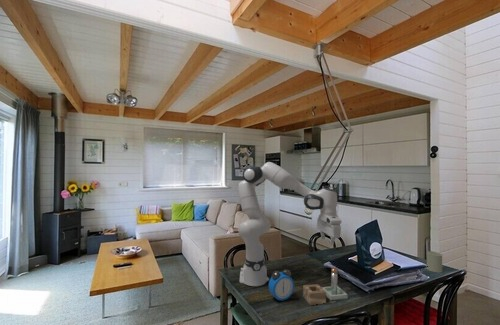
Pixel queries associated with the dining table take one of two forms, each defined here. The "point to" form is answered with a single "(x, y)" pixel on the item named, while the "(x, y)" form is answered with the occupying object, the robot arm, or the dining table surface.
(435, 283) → the dining table surface
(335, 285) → the pin
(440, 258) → the can
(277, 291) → the alarm clock
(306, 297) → the block
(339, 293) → the tray
